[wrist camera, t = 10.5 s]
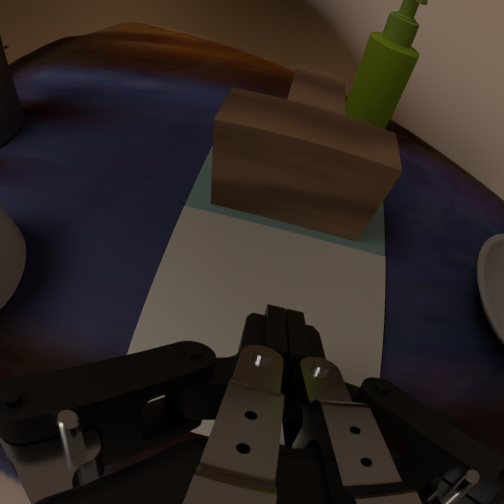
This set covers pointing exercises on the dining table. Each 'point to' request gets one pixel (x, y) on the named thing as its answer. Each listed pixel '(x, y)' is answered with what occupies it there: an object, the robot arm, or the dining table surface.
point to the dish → (492, 282)
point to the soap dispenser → (385, 68)
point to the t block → (302, 157)
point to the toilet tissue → (10, 256)
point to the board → (266, 284)
